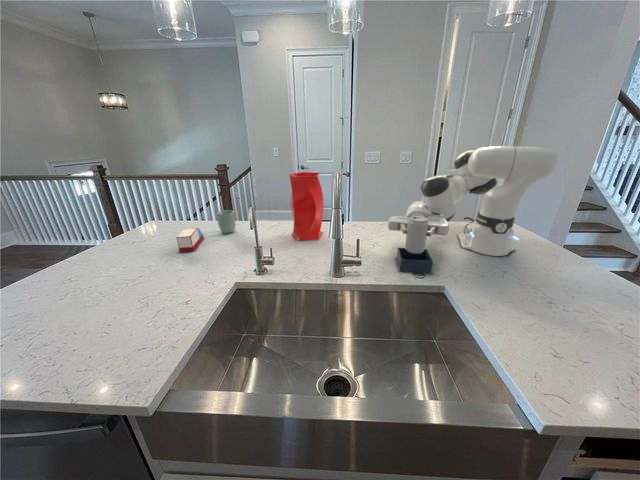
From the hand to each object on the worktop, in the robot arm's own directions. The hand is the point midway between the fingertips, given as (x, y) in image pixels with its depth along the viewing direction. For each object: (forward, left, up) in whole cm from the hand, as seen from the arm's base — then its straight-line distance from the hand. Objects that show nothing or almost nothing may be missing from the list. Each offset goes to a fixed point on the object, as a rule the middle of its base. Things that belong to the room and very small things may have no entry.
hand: (417, 232), depth 87 cm
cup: (-25, -83, -13) cm, 87 cm away
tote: (-1, 0, -13) cm, 13 cm away
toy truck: (-8, -91, -13) cm, 92 cm away
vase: (-25, -43, -13) cm, 51 cm away
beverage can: (-1, 0, -7) cm, 7 cm away
